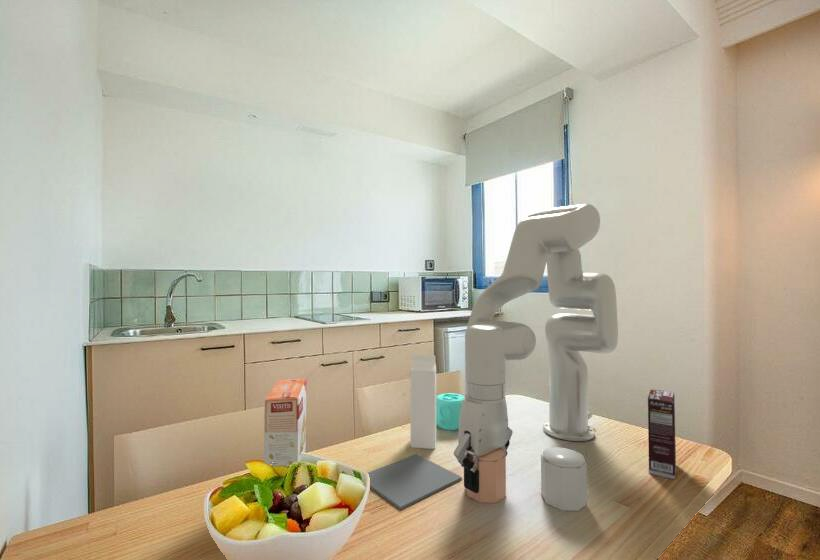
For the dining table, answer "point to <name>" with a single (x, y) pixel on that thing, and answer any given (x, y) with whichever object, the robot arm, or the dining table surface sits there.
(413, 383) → the milk
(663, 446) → the supplement box
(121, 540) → the dining table surface
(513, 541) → the dining table surface
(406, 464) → the rubber mat
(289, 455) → the cracker box
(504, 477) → the peach cylinder canister
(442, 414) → the turquoise embossed cylinder
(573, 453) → the white lidded canister
